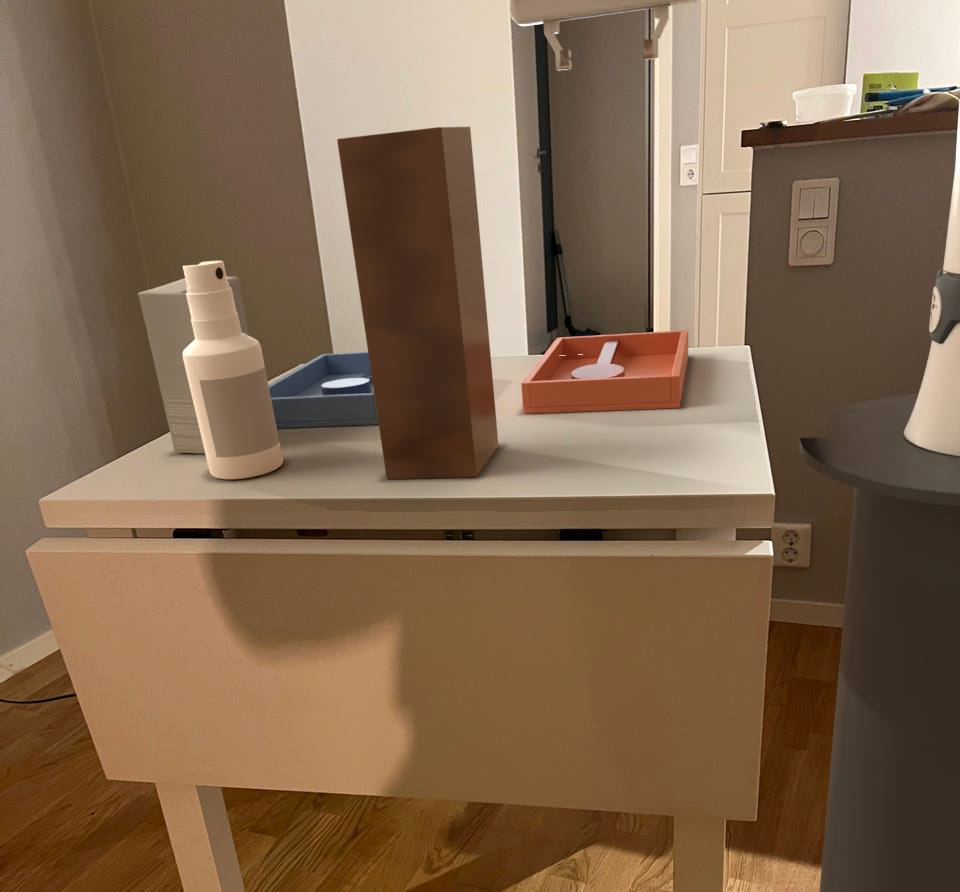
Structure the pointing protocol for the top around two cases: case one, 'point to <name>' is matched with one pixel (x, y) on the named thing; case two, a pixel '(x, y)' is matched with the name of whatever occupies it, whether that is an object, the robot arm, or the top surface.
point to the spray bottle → (228, 381)
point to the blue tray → (306, 405)
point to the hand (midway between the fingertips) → (607, 64)
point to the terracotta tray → (646, 385)
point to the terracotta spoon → (602, 364)
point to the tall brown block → (422, 298)
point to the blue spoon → (348, 386)
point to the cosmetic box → (177, 355)
